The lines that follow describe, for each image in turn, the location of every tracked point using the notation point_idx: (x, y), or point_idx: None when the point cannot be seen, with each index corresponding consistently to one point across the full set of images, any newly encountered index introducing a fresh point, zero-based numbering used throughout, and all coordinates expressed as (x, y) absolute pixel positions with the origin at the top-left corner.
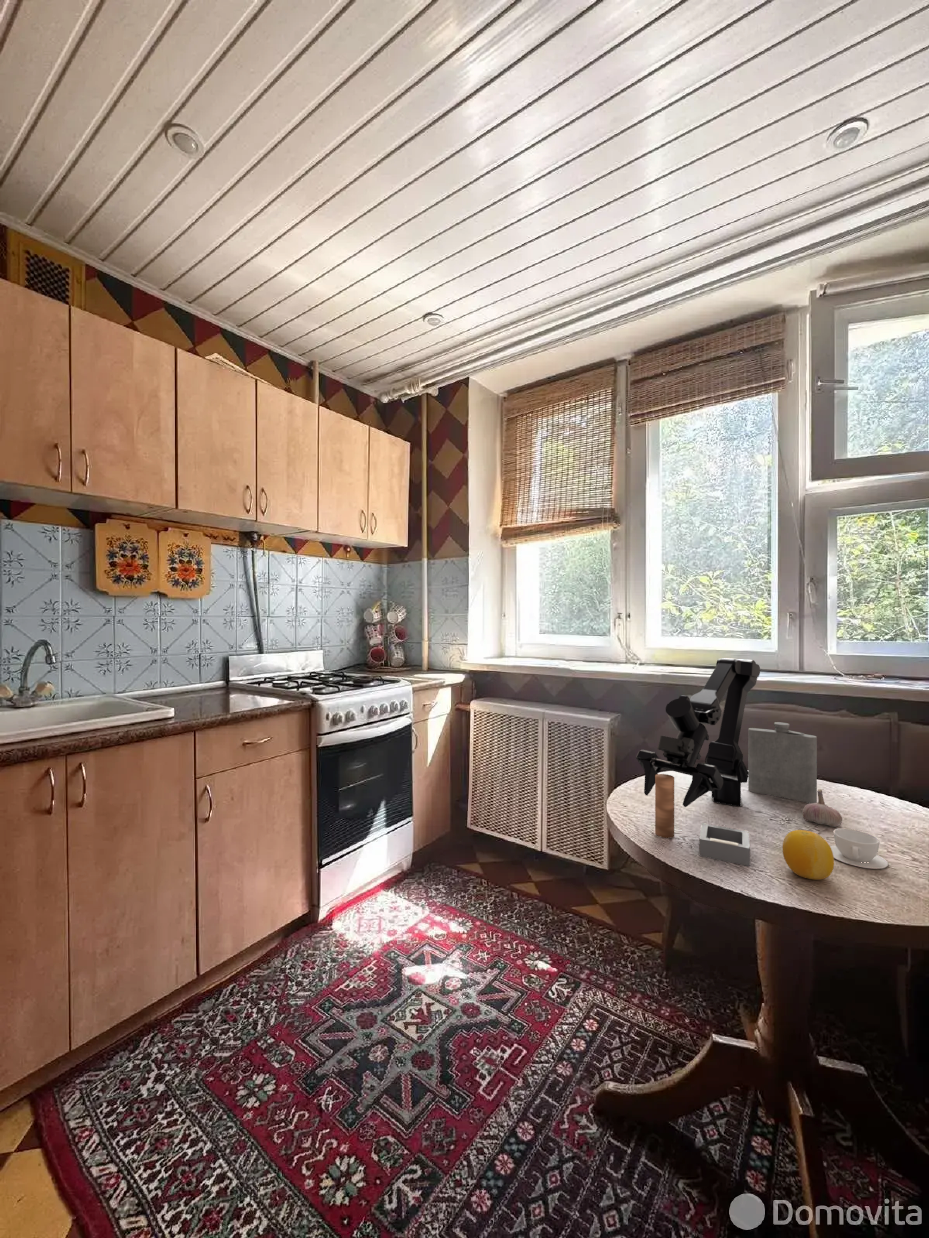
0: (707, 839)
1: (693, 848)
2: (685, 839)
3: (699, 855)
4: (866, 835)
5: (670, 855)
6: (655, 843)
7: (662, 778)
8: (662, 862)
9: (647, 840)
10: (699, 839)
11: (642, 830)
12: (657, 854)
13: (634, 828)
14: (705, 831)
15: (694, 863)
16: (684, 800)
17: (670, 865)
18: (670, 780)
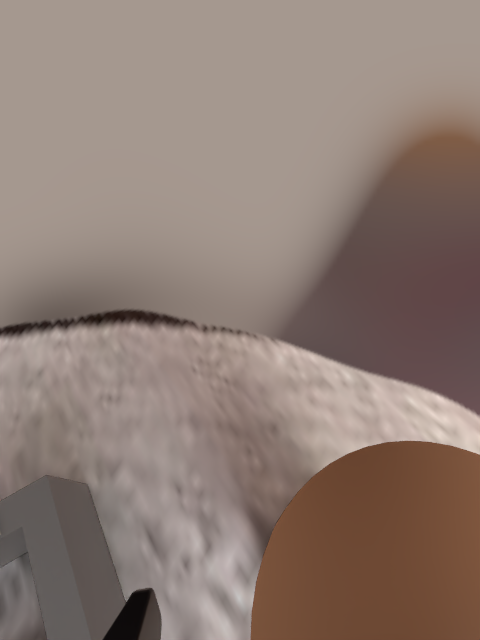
0: (10, 507)
1: (137, 535)
2: (217, 606)
3: (85, 484)
4: None
5: (165, 382)
6: (265, 418)
7: (366, 480)
8: (154, 317)
9: (304, 412)
10: (46, 475)
11: None
12: (199, 347)
13: None
14: (53, 620)
15: (75, 406)
16: (132, 623)
17: (126, 323)
18: (261, 577)
